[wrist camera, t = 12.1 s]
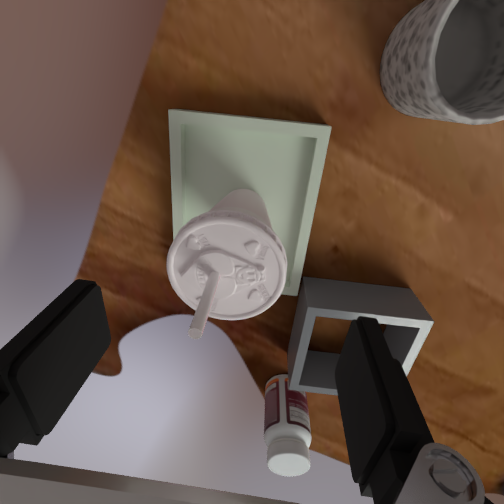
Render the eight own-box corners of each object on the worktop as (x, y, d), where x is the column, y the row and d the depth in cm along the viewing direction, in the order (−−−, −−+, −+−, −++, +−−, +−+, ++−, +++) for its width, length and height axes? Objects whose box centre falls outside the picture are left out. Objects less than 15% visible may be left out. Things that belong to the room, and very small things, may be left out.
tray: (176, 108, 21) (168, 109, 20) (327, 124, 21) (331, 126, 19) (180, 271, 28) (175, 282, 26) (295, 284, 28) (297, 296, 26)
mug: (480, 106, 20) (565, 110, 14) (378, 125, 21) (419, 136, 15) (512, -101, 15) (658, -223, 10) (381, -65, 16) (441, -156, 11)
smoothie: (199, 172, 22) (106, 263, 10) (282, 168, 22) (293, 259, 10) (209, 247, 25) (148, 387, 13) (283, 245, 25) (292, 390, 12)
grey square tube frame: (302, 276, 27) (307, 307, 23) (410, 288, 27) (434, 321, 23) (287, 353, 32) (288, 389, 28) (378, 363, 32) (393, 402, 28)
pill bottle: (270, 401, 36) (270, 480, 28) (260, 375, 34) (257, 453, 26) (309, 397, 35) (318, 477, 28) (301, 370, 33) (309, 449, 26)
